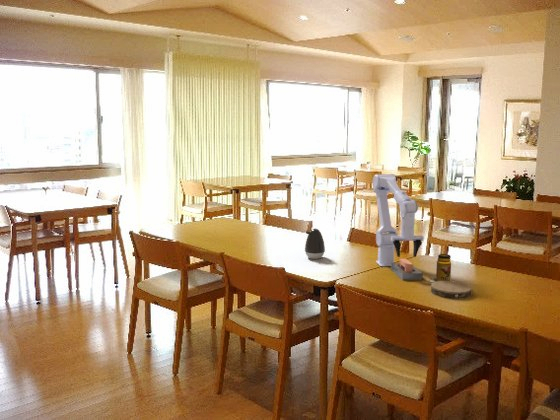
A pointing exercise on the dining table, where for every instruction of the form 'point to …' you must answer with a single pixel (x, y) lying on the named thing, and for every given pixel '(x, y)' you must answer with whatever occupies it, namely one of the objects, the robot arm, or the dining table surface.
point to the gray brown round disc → (451, 289)
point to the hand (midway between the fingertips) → (406, 256)
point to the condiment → (443, 268)
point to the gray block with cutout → (406, 275)
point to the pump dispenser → (314, 244)
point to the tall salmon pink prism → (406, 265)
